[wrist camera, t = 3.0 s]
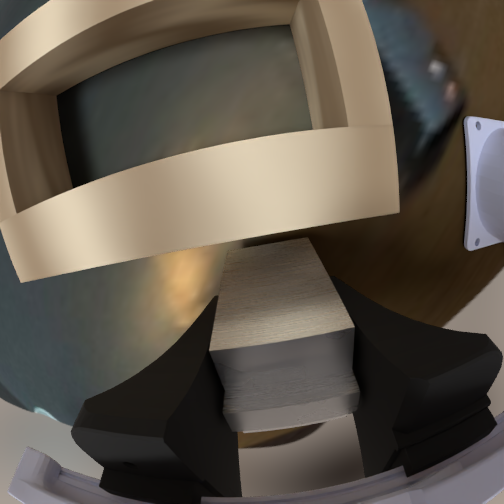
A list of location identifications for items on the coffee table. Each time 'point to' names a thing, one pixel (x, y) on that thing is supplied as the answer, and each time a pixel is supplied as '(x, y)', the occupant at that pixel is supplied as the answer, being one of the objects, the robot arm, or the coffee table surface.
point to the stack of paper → (282, 340)
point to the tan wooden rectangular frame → (195, 162)
